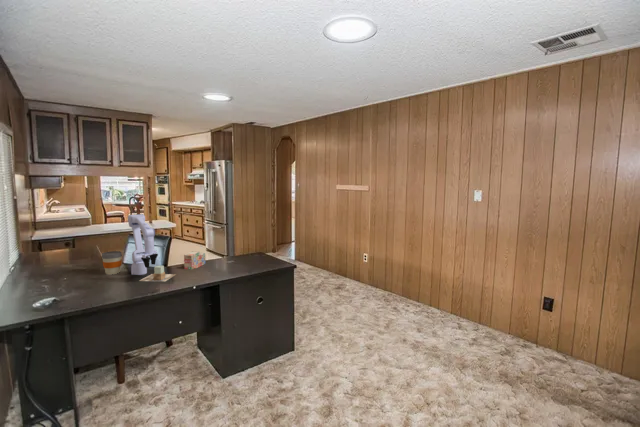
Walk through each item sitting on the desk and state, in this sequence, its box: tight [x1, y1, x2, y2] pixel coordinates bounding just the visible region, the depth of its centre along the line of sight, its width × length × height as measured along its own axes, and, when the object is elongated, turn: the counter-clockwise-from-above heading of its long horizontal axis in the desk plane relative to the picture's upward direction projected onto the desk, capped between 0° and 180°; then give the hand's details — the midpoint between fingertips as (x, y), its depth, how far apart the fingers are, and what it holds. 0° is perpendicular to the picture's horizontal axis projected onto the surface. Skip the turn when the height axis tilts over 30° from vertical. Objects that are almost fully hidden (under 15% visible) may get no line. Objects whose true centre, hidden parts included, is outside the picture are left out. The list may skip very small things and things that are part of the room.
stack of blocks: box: [183, 251, 206, 270], centre depth 255 cm, size 21×6×12 cm, turn 172°
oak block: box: [152, 271, 166, 282], centre depth 219 cm, size 5×5×4 cm
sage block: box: [153, 265, 165, 274], centre depth 219 cm, size 4×4×4 cm
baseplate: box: [139, 273, 177, 282], centre depth 224 cm, size 18×16×1 cm
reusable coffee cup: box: [101, 250, 123, 276], centre depth 236 cm, size 13×13×15 cm
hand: (150, 265), depth 219 cm, fingers open, 7 cm apart
